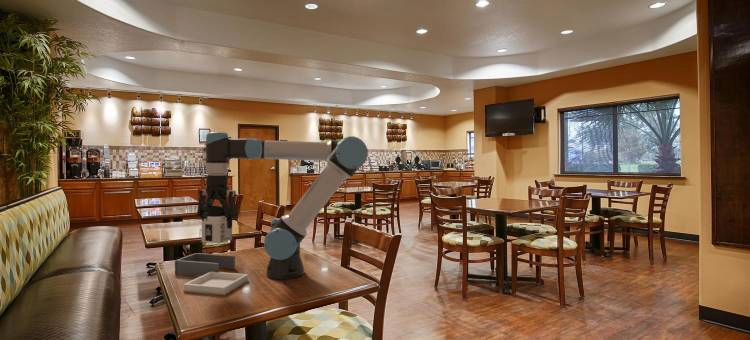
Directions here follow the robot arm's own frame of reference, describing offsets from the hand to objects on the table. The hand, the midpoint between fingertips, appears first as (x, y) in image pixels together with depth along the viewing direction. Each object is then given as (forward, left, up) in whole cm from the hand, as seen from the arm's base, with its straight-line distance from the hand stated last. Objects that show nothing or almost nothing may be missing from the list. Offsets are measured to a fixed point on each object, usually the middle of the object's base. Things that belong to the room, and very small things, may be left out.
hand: (217, 236), depth 146 cm
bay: (+15, -15, -19) cm, 29 cm away
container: (0, 0, -2) cm, 2 cm away
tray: (0, 0, -19) cm, 19 cm away
